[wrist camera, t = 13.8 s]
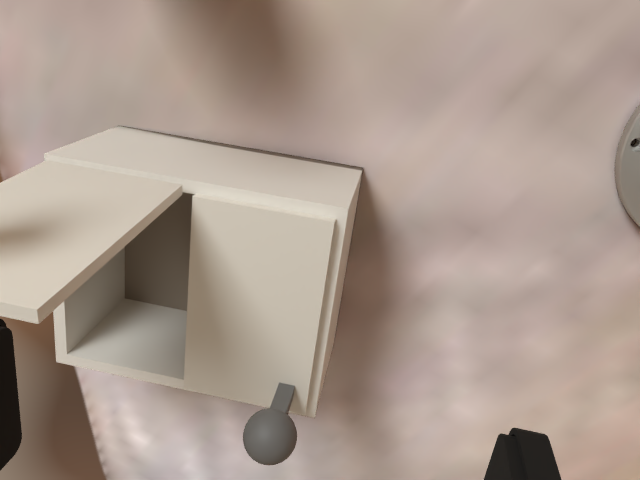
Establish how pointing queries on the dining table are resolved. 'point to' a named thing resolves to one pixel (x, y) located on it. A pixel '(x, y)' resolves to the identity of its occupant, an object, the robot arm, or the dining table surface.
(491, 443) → the dining table surface
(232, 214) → the flap
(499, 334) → the dining table surface
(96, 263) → the flap
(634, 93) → the dining table surface
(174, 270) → the carton
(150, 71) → the dining table surface
